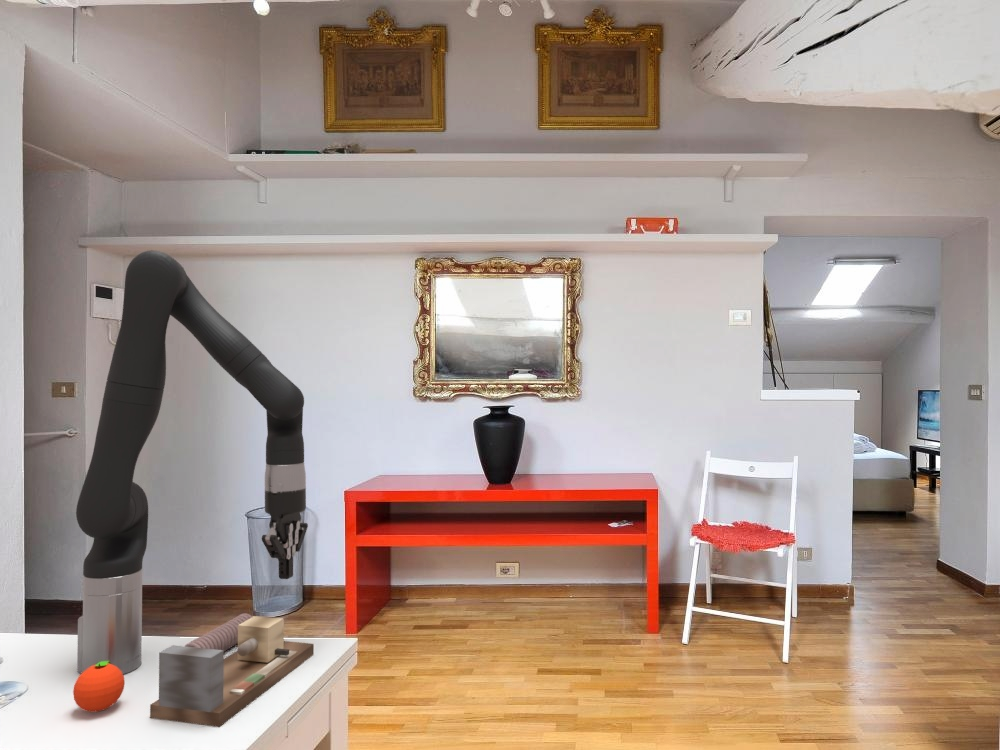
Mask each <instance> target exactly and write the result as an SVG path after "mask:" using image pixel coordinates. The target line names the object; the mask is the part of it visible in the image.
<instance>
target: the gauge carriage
mask: <svg viewBox="0 0 1000 750" xmlns="http://www.w3.org/2000/svg"><path fill="white" fill-rule="evenodd" d="M284 627H285V621H284V618H282V617H271V616H270V617H268V616H260V615H258V616H257V615H253V616H252V618H250V619H248V620H246V621H245V622H243V623H241V624H239V625H238V643H237V650H236V651H238V660H247V661H257V662H266V663H268V662H270V661H271V660H273V659H274V658H275V657H277V656H278V655H284V656H287V655H289V649H284V641H285V640H284V637H285V635H284V634H285V633H284V630H285V628H284Z"/></svg>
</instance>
